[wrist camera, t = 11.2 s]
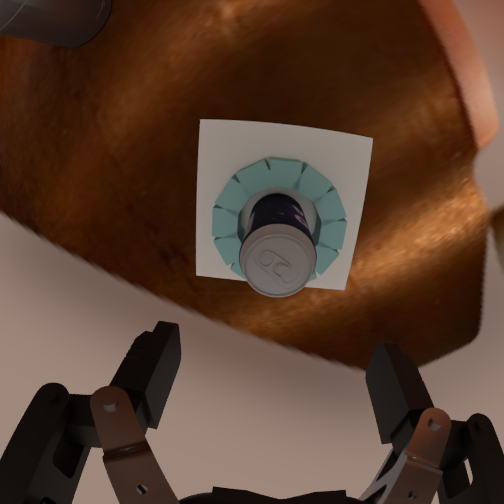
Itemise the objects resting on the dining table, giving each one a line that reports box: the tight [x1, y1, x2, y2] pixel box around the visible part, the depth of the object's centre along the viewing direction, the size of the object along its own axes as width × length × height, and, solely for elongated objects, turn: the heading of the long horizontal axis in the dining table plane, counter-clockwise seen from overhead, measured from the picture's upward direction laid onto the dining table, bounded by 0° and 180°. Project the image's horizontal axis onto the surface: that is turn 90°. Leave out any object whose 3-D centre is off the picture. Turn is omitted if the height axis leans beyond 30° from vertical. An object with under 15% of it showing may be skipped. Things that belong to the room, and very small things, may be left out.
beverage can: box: [239, 193, 317, 297], centre depth 25 cm, size 6×6×12 cm
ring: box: [212, 157, 347, 282], centre depth 29 cm, size 13×13×4 cm
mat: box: [196, 119, 373, 290], centre depth 31 cm, size 18×18×1 cm
